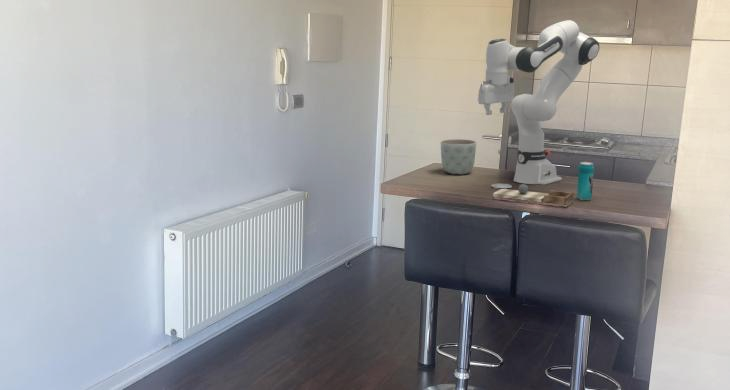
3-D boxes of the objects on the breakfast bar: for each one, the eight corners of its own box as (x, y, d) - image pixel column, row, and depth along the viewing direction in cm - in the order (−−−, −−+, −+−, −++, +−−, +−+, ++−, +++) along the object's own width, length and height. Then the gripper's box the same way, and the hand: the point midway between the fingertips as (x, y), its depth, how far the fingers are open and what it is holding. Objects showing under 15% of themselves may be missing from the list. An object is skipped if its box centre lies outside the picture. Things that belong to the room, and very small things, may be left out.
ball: (523, 192, 293) (523, 182, 292) (530, 194, 290) (530, 184, 289) (515, 193, 291) (516, 183, 290) (522, 195, 288) (523, 185, 287)
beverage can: (589, 201, 287) (591, 164, 284) (575, 200, 290) (577, 163, 287) (593, 198, 292) (595, 162, 288) (579, 197, 295) (581, 161, 291)
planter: (466, 177, 334) (466, 145, 331) (433, 174, 343) (434, 142, 340) (481, 171, 348) (482, 140, 345) (449, 168, 357) (450, 138, 354)
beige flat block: (492, 199, 292) (493, 193, 292) (501, 194, 301) (501, 188, 300) (541, 204, 283) (541, 198, 282) (548, 199, 291) (548, 193, 290)
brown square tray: (541, 204, 283) (541, 195, 282) (548, 199, 291) (548, 190, 290) (566, 207, 278) (567, 197, 277) (573, 202, 286) (573, 192, 285)
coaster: (499, 183, 321) (499, 182, 321) (515, 187, 314) (515, 185, 314) (486, 186, 315) (486, 185, 315) (503, 190, 308) (503, 188, 308)
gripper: (487, 81, 282) (486, 116, 285) (517, 78, 296) (516, 112, 299) (474, 81, 286) (473, 115, 289) (504, 78, 300) (503, 111, 303)
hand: (495, 113), depth 294 cm, fingers open, 8 cm apart
